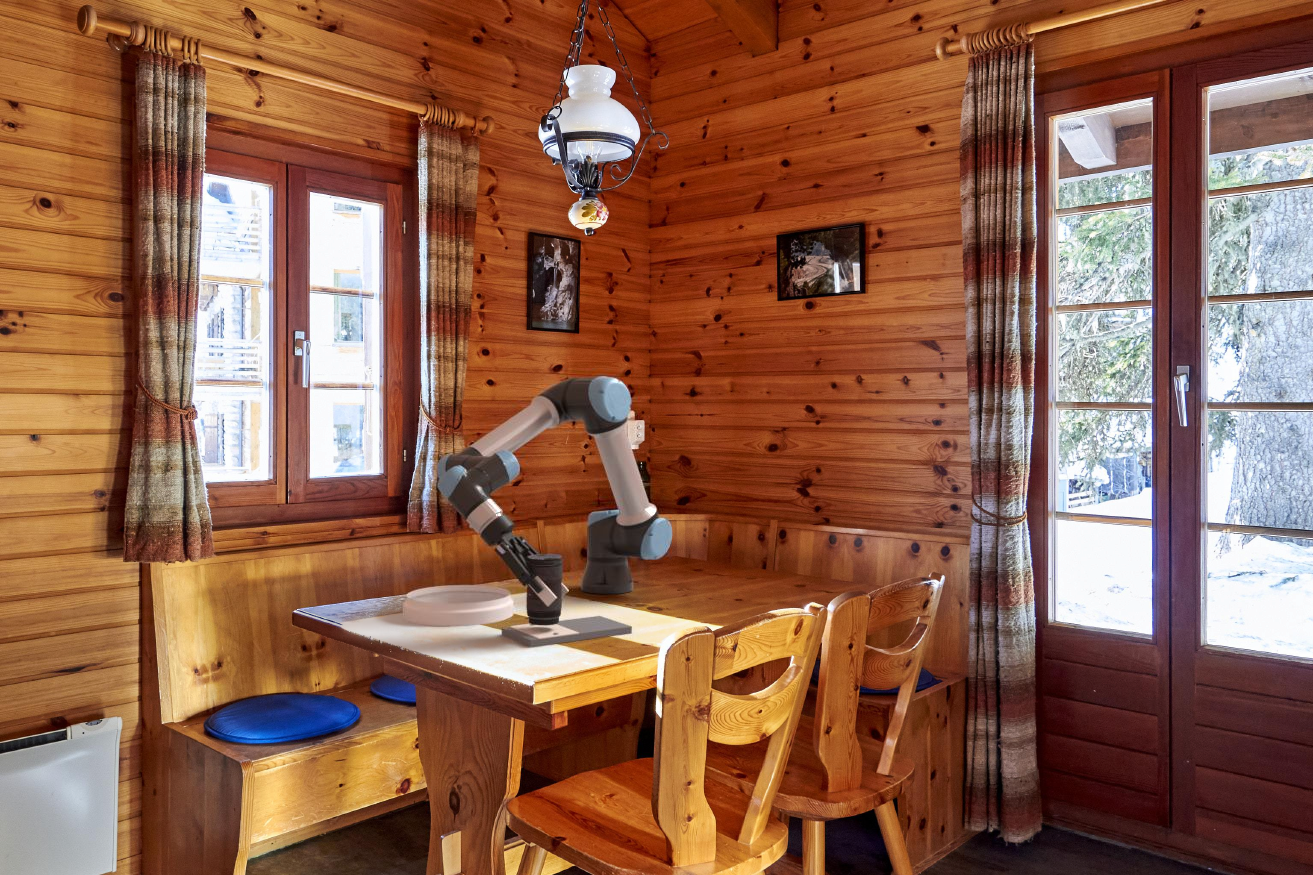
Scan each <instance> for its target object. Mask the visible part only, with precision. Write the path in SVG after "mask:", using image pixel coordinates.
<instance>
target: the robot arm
mask: <svg viewBox="0 0 1313 875" xmlns="http://www.w3.org/2000/svg"><path fill="white" fill-rule="evenodd" d="M631 405H632V397H631V393H630V391H629V388H627V386H626V384H625V383H624V382H623V381H622V380H620V379H618V378H615V377H612V376H610V377H609V376H605V375H604V376H596V377H595V376H593V377H592V376H591V377H571V378H567V379H564V380H561V381H560V382H559V381H558V383H556V384H554V385H552V386H551V387H550V386H549V388H547V389H545V390H544V391H542V392H541V393H539V394H538V395H537V396H535V397H534V398H532V399H531V403H530V405H528V406H527V407H525V408H524V409H522V410H521V411H519V412H518V413H517V414H515V415H513V416H512V417H510V418H509V419H508V420H506V421H504V422H503V423H502V424H500V425H498V426H497V427H495V428H494V429H493V430H491V431H490V432H489V433H487V434H485V435H484V436H482V437H481V438H480V439H478V440H477V441H475V442H474V443H472V444H470V445H469V446H467V447H466V448H465V449H463V450H461V451H460V452H459V453H456V454H455V453H451V454H446V455H444V456H442V457H441V458H440V459H439V460H438V462H437V465H436V474H437V477H438V481H437V489H438V490H439V491H440V493H441V494H442V496H443V497H444V498H445V499H446V502H449V503H450V505H451V506H452V507H453V508H454V509H455V510H456V512H458V513H459V514H460V516H461V517H462V518H463V519H464V520H465V521H466V522H467V523H468V524H469V526H468V527H469V528H470V529H473V530H474V531H475V532H476V533H477V534H479V535H480V539H481V540H482V541H484V543H485V544H486V545H487V546H488V547H490V548H493V547H495V546H496V548H494V552H495V553H496V554H497V555H498V557H500V558H501V560H503V563H505V564H506V566H507V567H508V568H509V569H510V571H511V572H512V574H513V575H514V576H515V578H516V579H517V580H518V582H519V583H521V586H523V587H527V584H528V585H529V586H530V587H531V588H532V590H533V591H534V592H535V593H536V594H537V595H538V596H539V597H540V599H541V600H542V601H543V602H544V603H545V604H546V605H547V606H549V605H550V604H551V603H552V602H553V601H554V600H555V599H556V598H557V597H556V596H555V595H554V594H553V592H552V591H551V590H550V589H549V588H548V587H547V586H546V585H545V584H544V582H543V581H542V580H541V579H540V578H539V577H538V576H536V577H535V575H534V574H533V572H532V570H531V569H530V567H529V566H528V564H527V563H526V561H527V557H528V556H530V555H535V554H540V553H539V552H538V551H537V550H536V549H535V548H534V547H533V546H532V545H531V544H530V543H529V541H527V540H526V538H525V537H524V536H523V535H520V536H519V537H518V536H517V535H515V534H514V533H513V530H514V529H515V523H514V522H513V521H512V520H511V518H510V517H509V516H508V515H507V514H505V513H504V512H503V509H502V508H501V507H500V506H499V505H498V504H497V503H496V502H495V500H494V499H493V498H491V496H490V495H491V494H494V493H495V492H496V491H498V490H500V489H501V488H503V487H504V486H506V485H507V484H510V483H511V481H513V480H514V479H516V478H517V477H518V476H519V474H520V471H521V469H520V468H521V466H520V464H519V460H518V459H517V457H516V456H515V455H514V454H513V453H514V452H515V451H517V450H518V449H519V448H521V447H522V446H524V445H525V444H527V443H528V442H530V441H531V440H533V439H534V438H535V437H537V436H538V435H540V434H541V433H543V431H545V430H547V429H549V430H550V429H551V430H552V429H555V428H556V427H558V426H559V425H561V424H564V423H567V422H568V423H569V422H583V426H584V428H585V431H586V433H587V434H588V435H590V436H592V437H593V438H594V441H595V443H596V446H597V449H598V453H599V456H600V459H601V461H602V464H603V467H604V470H605V473H606V476H607V479H608V483H609V484H610V485H609V486H610V488H611V491H612V494H613V497H614V500H615V503H616V506H617V509H613V510H612V509H611V510H602V511H601V510H599V511H593V512H591V513H589V514H588V518H587V525H586V534H587V537H586V538H587V539H586V540H587V541H586V545H587V547H586V548H587V550H586V552H587V556H586V558H587V559H586V560H587V562H586V565H585V569H584V572H583V574H582V578H581V581H580V590H581V592H585V593H589V594H597V595H598V594H599V595H619V594H624V593H625V594H626V593H629V592H632V591H634V580H633V577H632V573H631V570H630V568H629V565H628V557H630V558H637V559H642V560H659V559H660V558H662V557H663V556H664V555H666V553H667V552H668V550H669V548H670V546H671V543H672V539H673V527H672V524H671V523H670V521H669V520H668V519H667V518H666V519H665V518H664V517H660V515H659V513H658V509H657V506H656V505H655V504H653V503H650V502H649V498H648V496H647V493H646V490H645V486H644V484H643V480H642V476H641V473H640V471H639V467H638V464H637V460H636V458H635V455H634V451H633V449H632V445H631V443H630V439H629V436H628V433H627V430H626V425H627V423H628V421H629V418H628V416H629V414H630V413H631ZM534 577H535V578H534ZM568 592H569V589H568V587H567V586H566V585H565V584H564V583H563V582H562V598H563V597H564V596H565V595H566V594H567V593H568Z"/></svg>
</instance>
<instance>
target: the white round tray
mask: <svg viewBox="0 0 1313 875" xmlns="http://www.w3.org/2000/svg"><path fill="white" fill-rule="evenodd" d="M514 606H515V602H514V599H513V598H512V597H511V591H509V590H508V589H505V588H502V587H498V586H491V585H490V586H489V585H481V584H480V585H478V584H457V585H456V584H454V585H439V586H430V587H429V586H428V587H423V588H418V589H415V590H412V591H410V592H408V593H407V594H406V599H405V601H404V602H403V603H402V618H403V620H404V621H407V622H409V623H414V624H417V625H424V626H434V627H435V626H436V627H465V626H468V627H469V626H479V625H486V624H487V625H488V624H493V623H497V622H502V621H504V620H508V619H511V617H513V616H514V612H515V610H514V609H515V608H514Z"/></svg>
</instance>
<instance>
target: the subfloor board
mask: <svg viewBox="0 0 1313 875" xmlns="http://www.w3.org/2000/svg"><path fill="white" fill-rule="evenodd" d="M632 632H633V626H631V625H628V624H625V623H623V622H621V621H617V620H613V619H611V618H607V617H604V616H601V615H596V616H586V617H579V618H572V619H563V620H559V623H558V624H555V625H547V626H543V625H533V624H530V623H525V624H517V625H510V626H508V627H507V626H506V627H502V628H501V635H502V636H503V637H505V638H508V639H511V640H513V641H515V642H518V643H520V644H522V645H525V646H527V647H530V648H536V647H541V646H542V647H543V646H551V645H556V644H557V645H558V644H564V643H571V642H579V641H585V640H592V639H599V638H606V637H614V636H618V635H626V634H627V635H628V634H632Z"/></svg>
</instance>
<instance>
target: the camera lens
mask: <svg viewBox="0 0 1313 875" xmlns="http://www.w3.org/2000/svg"><path fill="white" fill-rule="evenodd" d="M562 557H563V556H562V555H560V554H555V553H539V554H535V555H530V556H528V557H527V561H526V563H527V564H528V566H529V567H530V569H531V570H532V572H533V574H534V575H535V577H536V576H538V577H539V578H540V579H541V580H542V581H543V582H544V584H545V585H546V586H547V587H548V588H549V589H550V590H551V591H552V592H553V594H554V595H555V596H556V597H557V598H556V599H555V600H554V601H553V602H552V603H551V604H550V605H549V606H547V605H546V604H545V603H544V602H543V601H542V600H541V599H540V597H539V596H538V595H537V594H536V593H535V592H534V591H533V590H532V588H531V587H530V586H529V585H528V584H527V585H526V601H525V602H526V605H525V606H526V607H525V608H526V615H527V617H528V624H533V625H543V626H547V625H555V624H558V623H559V621H560V617H561V615H562V609H563V608H562V607H563V597H562V583H563V573H564V572H563V569H564V568H563V566H564V565H563V563H564V562H563V559H562ZM535 577H534V578H535Z"/></svg>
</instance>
